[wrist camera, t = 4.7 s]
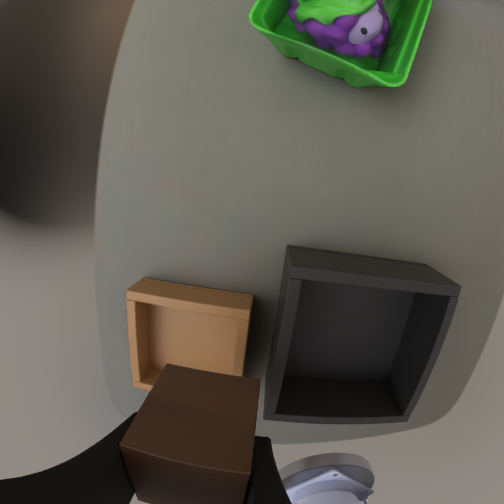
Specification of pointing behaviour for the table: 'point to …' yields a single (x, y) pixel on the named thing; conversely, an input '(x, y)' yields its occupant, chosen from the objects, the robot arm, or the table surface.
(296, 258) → the black basket
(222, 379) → the walnut block
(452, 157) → the table surface
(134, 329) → the kraft box
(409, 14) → the fruit basket
